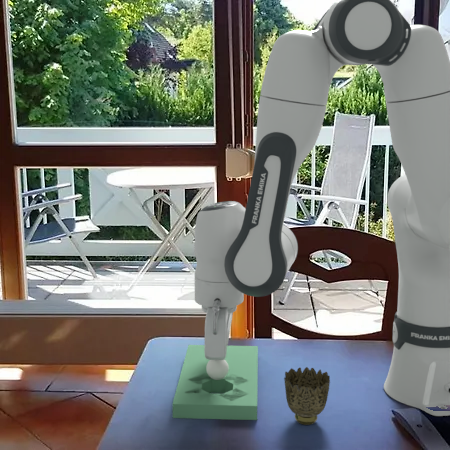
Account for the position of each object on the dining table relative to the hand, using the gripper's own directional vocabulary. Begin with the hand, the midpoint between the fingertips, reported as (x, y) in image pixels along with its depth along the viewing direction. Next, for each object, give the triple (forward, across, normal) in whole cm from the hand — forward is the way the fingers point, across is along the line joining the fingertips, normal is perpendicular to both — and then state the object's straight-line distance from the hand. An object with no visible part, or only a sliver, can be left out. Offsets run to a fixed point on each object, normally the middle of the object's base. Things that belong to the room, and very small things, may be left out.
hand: (219, 363), depth 125 cm
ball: (0, -3, 0) cm, 3 cm away
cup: (+4, -13, -15) cm, 21 cm away
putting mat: (+4, 0, 0) cm, 4 cm away
